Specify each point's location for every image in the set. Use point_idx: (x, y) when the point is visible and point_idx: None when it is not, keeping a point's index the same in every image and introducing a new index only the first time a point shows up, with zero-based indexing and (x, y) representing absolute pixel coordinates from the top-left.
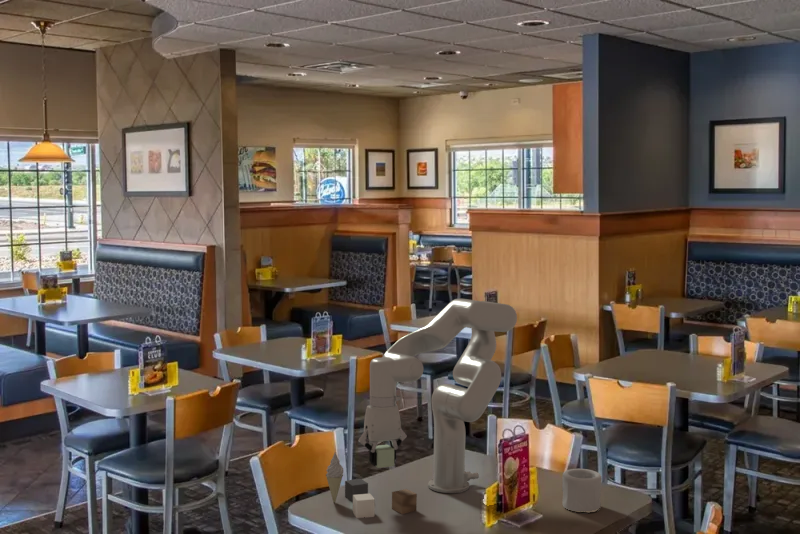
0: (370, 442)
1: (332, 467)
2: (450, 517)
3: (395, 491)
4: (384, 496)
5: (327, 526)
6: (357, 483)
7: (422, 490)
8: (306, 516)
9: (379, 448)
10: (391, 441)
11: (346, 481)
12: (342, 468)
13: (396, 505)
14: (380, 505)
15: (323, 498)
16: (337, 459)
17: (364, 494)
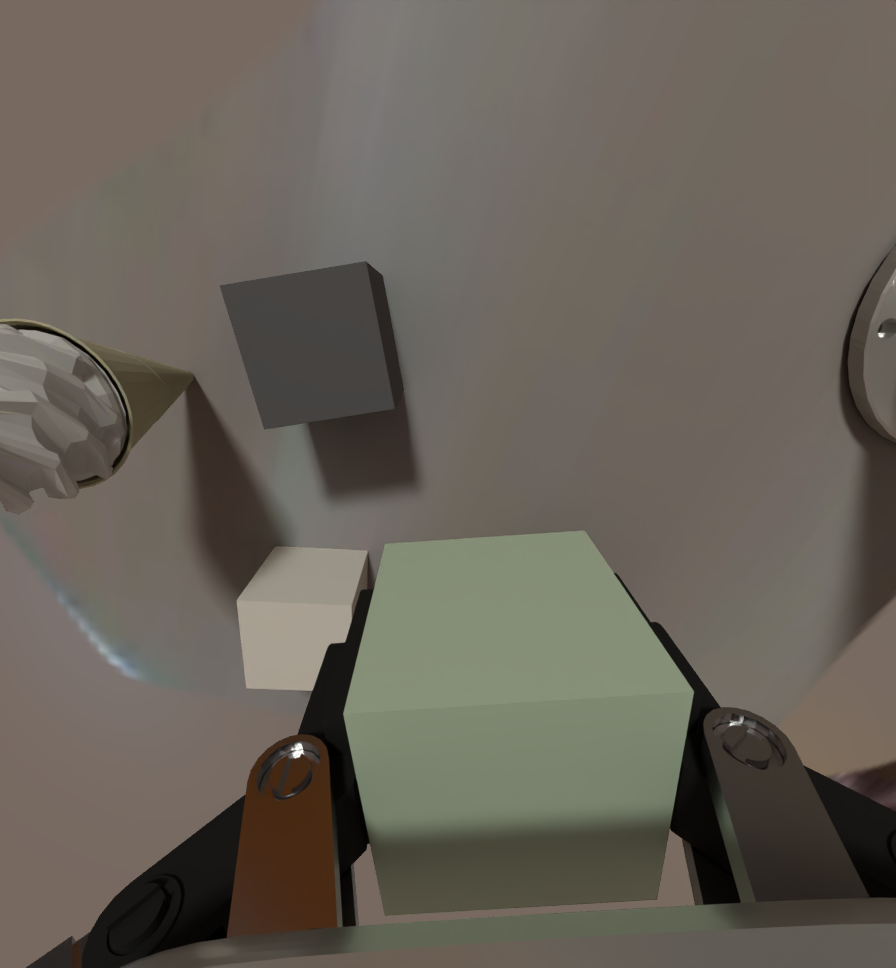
0: (255, 934)
1: None
2: None
3: None
4: (521, 362)
5: (132, 671)
6: (312, 387)
7: (793, 327)
8: (23, 539)
9: (447, 836)
10: (775, 861)
11: (229, 309)
12: (68, 474)
13: None
14: (443, 499)
15: (121, 271)
16: None
17: (311, 612)
